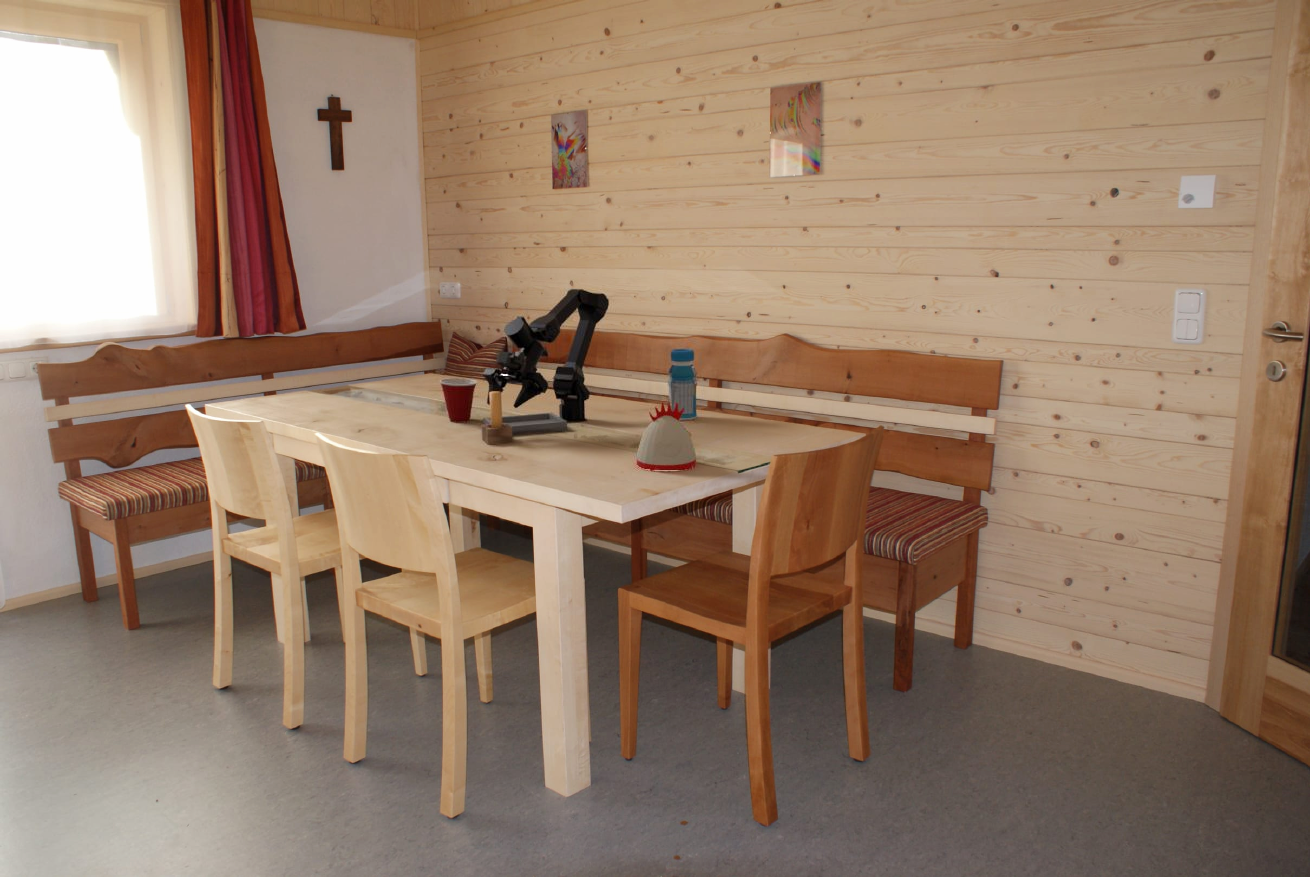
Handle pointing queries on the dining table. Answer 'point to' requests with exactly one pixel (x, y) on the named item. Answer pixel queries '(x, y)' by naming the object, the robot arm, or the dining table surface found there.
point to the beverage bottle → (683, 383)
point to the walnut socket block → (497, 434)
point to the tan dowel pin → (495, 409)
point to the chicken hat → (666, 443)
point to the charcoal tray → (533, 423)
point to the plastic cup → (458, 397)
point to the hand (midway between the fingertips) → (501, 405)
